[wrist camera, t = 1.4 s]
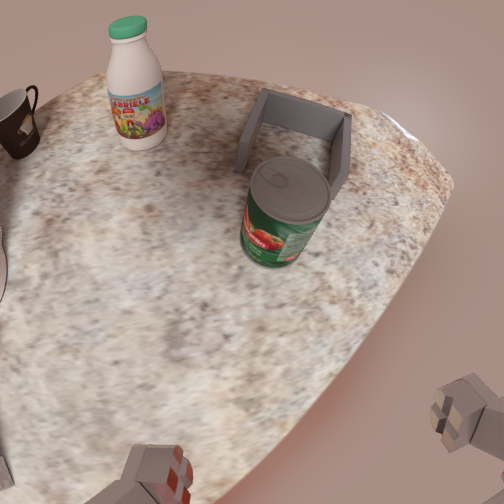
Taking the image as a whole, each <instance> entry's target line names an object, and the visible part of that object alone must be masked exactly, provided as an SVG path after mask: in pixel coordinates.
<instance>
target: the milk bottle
mask: <svg viewBox="0 0 504 504" xmlns="http://www.w3.org/2000/svg"><path fill="white" fill-rule="evenodd" d="M146 34H147V20H146V18H145V17H142V16H130V17H125V18H121V19H119V20H116V21H115V22H113V23H112V24H110V26H109V35H110V41H111V42H112V43H113V49H112V55H111V59H110V62H109V65H108V69H107V74H106V83H107V90H108V95H109V100H110V104H111V109H112V113H113V117H114V121H115V125H116V129H117V132H118V136H119V139H120V142H121V144H122V145H123V146H124V147H126V148H127V149H129V150H133V151H144V150H148V149H151V148H153V147H155V146H157V145H158V144H160V143H161V142H162V141H163V139H164V138H165V136H166V133H167V120H166V110H165V99H164V88H163V78H162V71H161V66H160V63H159V61H158V59H157V57H156V56H155V54H154V53H153V51H152V50H151V48H150V47H149V45H148V42H147V40H146Z"/></svg>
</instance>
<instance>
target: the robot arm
mask: <svg viewBox="0 0 504 504" xmlns="http://www.w3.org/2000/svg"><path fill="white" fill-rule="evenodd" d="M6 270H7V269H6V258H5V254H4V251H3V248H2V227H1V226H0V300H1V298H2V295H3V291H4V287H5V282H6ZM433 399H434V400H435V403H434V404H433V405H432V407H431V409H430V422H431V425H432V427H433V429H434V430H435V432H437V433H440V434H442V438H441V441H442V443H443V444H444V446H445V447H446V449H447V451H448V452H449V453H451V452H453V451H455V450H457V449H459V448H461V447H463V446H465V445H467V444H469V443H470V445H472V446H474V447H476V448H478V449H480V450H482V451H484V452H486V453H488V454H490V455H493V456H495V457H497V458H499V459H501V460H503V461H504V397H501V398H499V397H498V396H497V395H496V394H495V393H494V392H493V391H492V390H491V389H490V388H489V387H488V386H487V385H486V384H485V383H484V382H483V381H482V380H481V379H480V378H479V377H478V376H477V375H476V374H474V373H471V374H469V375H467V376H465V377H463V378H461V379H458V380H456V381H454V382H451V383H449V384H447V385H445V386H443V387H441V388H438V389H436V391H435V392H434V395H433ZM501 478H502V480H503V481H504V471H503V472H502V474H501ZM192 483H193V469H192V466H191V463H190V462H189V460H188V459H187V458H185V457H183V450H182V448H181V447H180V445H153V444H134V445H133V446H132V448H131V450H130V453H129V456H128V459H127V461H126V464H125V467H124V470H123V473H122V475H121V478H120V480H115V481H114V482H113V483H111V484H110V485H109V486H107V487H106V488H105V489H103V490H102V491H101V492H99V493H98V494H97V495H95V496H94V497H93V498H91V499H90V500H89V501H87V502H86V503H84V504H190V497H191V494H190V493H189V491H188V490H187V489H188V488H189V487H190V486H191V485H192ZM482 504H504V489H503V490H502V491H500V492H499V493H498V494H496V495H494V496H493V497H491V498H490V499H488V500H487V501H485V502H484V503H482Z"/></svg>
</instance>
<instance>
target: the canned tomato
mask: <svg viewBox="0 0 504 504" xmlns="http://www.w3.org/2000/svg"><path fill="white" fill-rule="evenodd" d="M331 198H332V196H331V189H330V186H329V183H328V181H327V179H326V178H325V177H324V175H323V174H322V173H321V172H320V171H319V170H318V169H317V168H316V167H314V166H313V165H312V164H310V163H308V162H306V161H304V160H302V159H298V158H295V157H289V156H279V157H273V158H270V159H267V160H265V161H263V162H261V163H260V164H259V165H258V166H257V167H256V168H255V170H254V171H253V173H252V176H251V180H250V187H249V193H248V197H247V202H246V207H245V213H244V218H243V223H242V229H241V232H240V244H241V247H242V250H243V252H244V254H245V255H246V256H247V258H248V259H249V260H250V261H252V262H253V263H254V264H256V265H258V266H260V267H262V268H265V269H272V270H276V269H282V268H286V267H288V266H290V265H291V264H293V263H294V262H295V261H296V260H297V259H298V257H299V256H300V254H301V252H302V251H303V249H304V247H305V246H306V244H307V242H308V241H309V239H310V238H311V236H312V235H313V233H314V231H315V229H316V228H317V226H318V224H319V223H320V221H321V220H322V218H323V216H324V214H325V213H326V212H327V210H328V209H329V206H330V204H331Z"/></svg>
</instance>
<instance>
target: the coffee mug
mask: <svg viewBox="0 0 504 504" xmlns="http://www.w3.org/2000/svg"><path fill="white" fill-rule="evenodd" d="M31 88H33V89H34V90H35V102H34V105H33V108H32V110H31V107H30V103H29V100H28V96H27V92H28V91H29V90H30V89H31ZM37 99H38V89H37V87H36V86H34V85H33V86H29V87H28V88H27V89H26V90H24V89H18V90H15V91H12V92H10V93H8V94H6V95H4V96H3V97H2V98H0V144H1V145H2V146H3V147H4V148H5V150H6V151H7V152H8V153H9V154H10V156H11V157H12V158H13V159H16V160H19V159H22V158H25V157H26V156H28V155H29V154H31V153H32V152H33V151H34V150H35V148H36V147H37V145H38V144H39V141H40V137H39V134H38V130H37V127H36V124H35V121H34V117H33V114H34V111H35V108H36V104H37Z"/></svg>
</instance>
